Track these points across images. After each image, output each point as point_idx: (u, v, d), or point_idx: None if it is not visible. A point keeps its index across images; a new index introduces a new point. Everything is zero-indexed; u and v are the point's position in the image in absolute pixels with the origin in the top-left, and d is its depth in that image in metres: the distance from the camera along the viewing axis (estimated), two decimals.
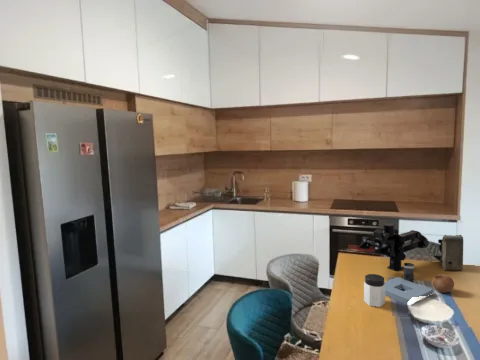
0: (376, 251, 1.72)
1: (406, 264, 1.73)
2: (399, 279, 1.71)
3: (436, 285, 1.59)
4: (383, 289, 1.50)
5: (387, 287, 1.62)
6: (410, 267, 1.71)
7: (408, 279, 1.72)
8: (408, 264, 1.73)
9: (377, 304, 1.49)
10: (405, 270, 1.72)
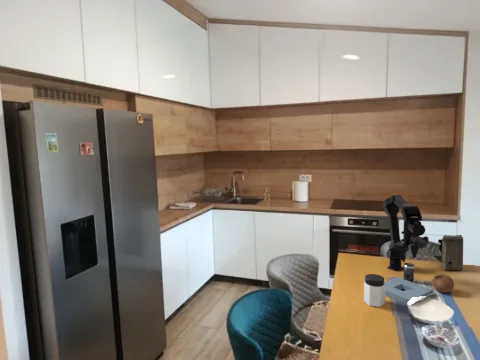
0: None
1: (406, 264, 1.73)
2: (399, 279, 1.71)
3: (436, 285, 1.59)
4: (383, 289, 1.50)
5: (387, 287, 1.62)
6: (410, 267, 1.71)
7: (408, 279, 1.72)
8: (408, 264, 1.73)
9: (377, 304, 1.49)
10: (405, 270, 1.72)
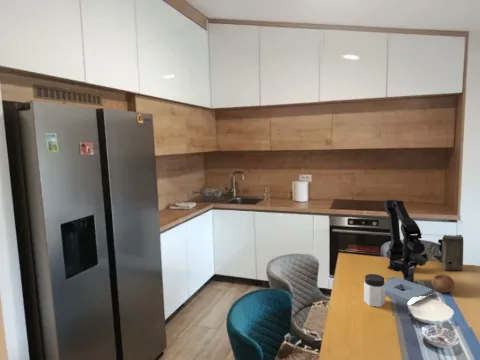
0: None
1: None
2: (399, 279, 1.71)
3: (436, 285, 1.59)
4: (383, 289, 1.50)
5: (387, 287, 1.62)
6: (410, 267, 1.71)
7: (408, 279, 1.72)
8: None
9: (377, 304, 1.49)
10: None
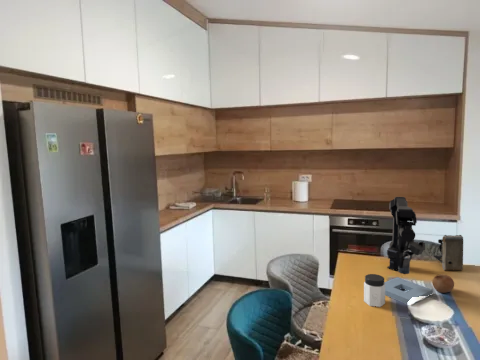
0: None
1: None
2: (399, 279, 1.71)
3: (436, 285, 1.59)
4: (383, 289, 1.50)
5: (387, 287, 1.62)
6: None
7: (403, 270, 1.58)
8: None
9: (377, 304, 1.49)
10: None
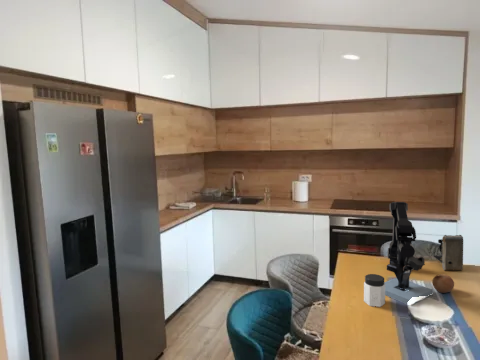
0: None
1: None
2: None
3: (436, 285, 1.59)
4: (383, 289, 1.50)
5: (387, 287, 1.62)
6: None
7: (403, 284, 1.59)
8: None
9: (377, 304, 1.49)
10: None
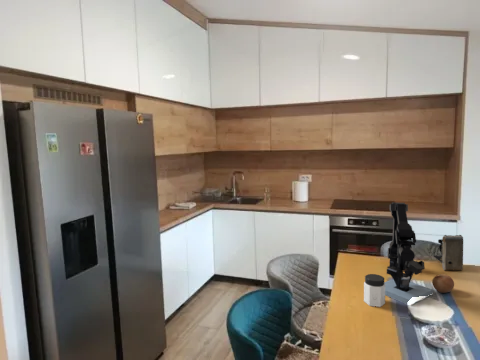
0: None
1: None
2: None
3: (436, 285, 1.59)
4: (383, 289, 1.50)
5: (387, 287, 1.62)
6: (405, 278, 1.58)
7: None
8: (403, 274, 1.61)
9: (377, 304, 1.49)
10: None
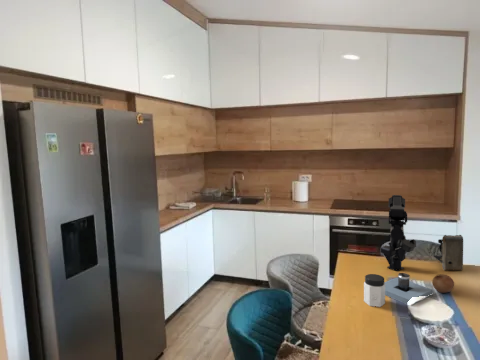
0: None
1: (401, 274, 1.61)
2: None
3: (436, 285, 1.59)
4: (383, 289, 1.50)
5: (387, 287, 1.62)
6: (405, 278, 1.58)
7: None
8: (403, 274, 1.61)
9: (377, 304, 1.49)
10: (400, 281, 1.60)
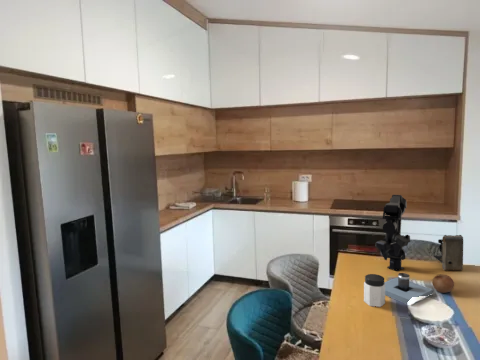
0: None
1: (401, 274, 1.61)
2: None
3: (436, 285, 1.59)
4: (383, 289, 1.50)
5: (387, 287, 1.62)
6: (405, 278, 1.58)
7: None
8: (403, 274, 1.61)
9: (377, 304, 1.49)
10: (400, 281, 1.60)
